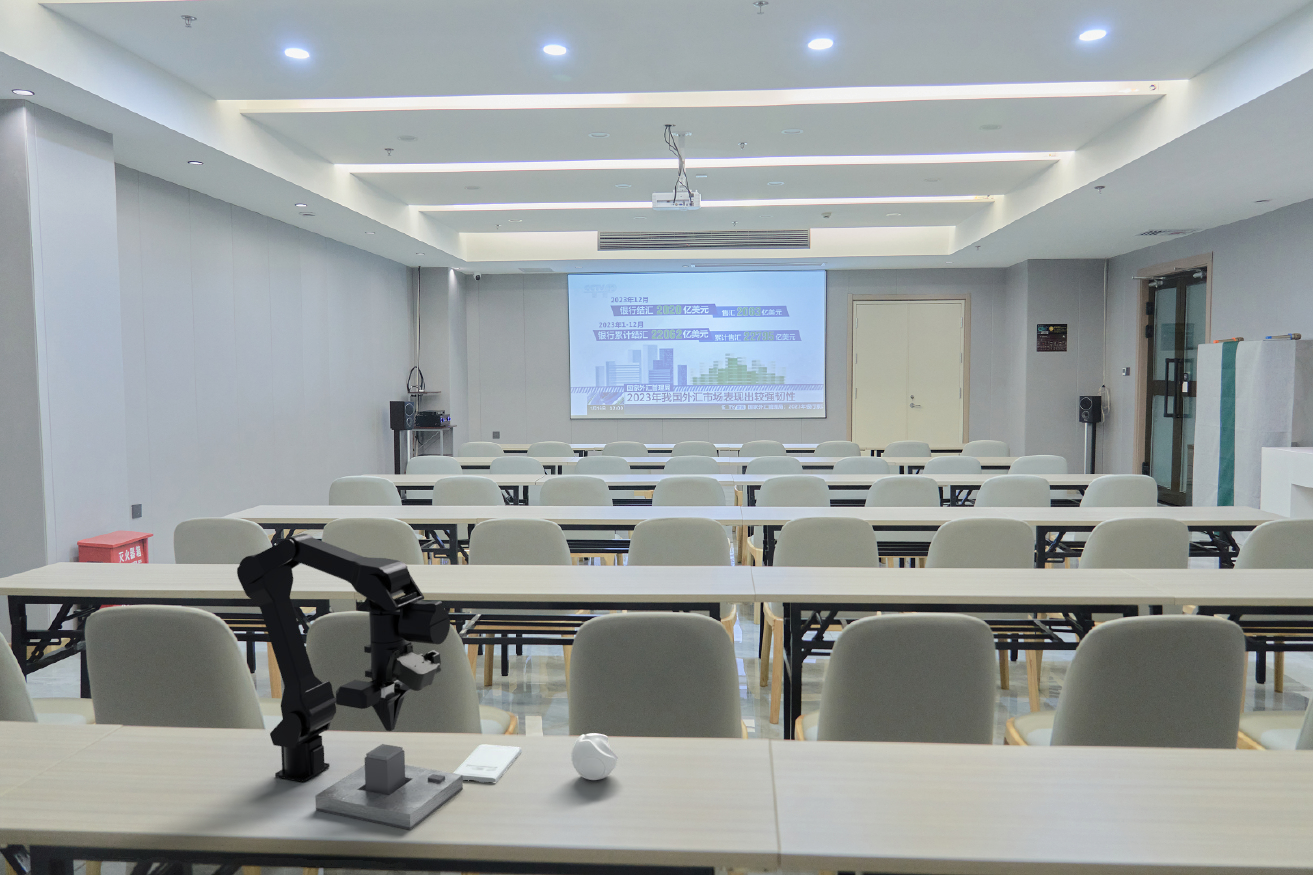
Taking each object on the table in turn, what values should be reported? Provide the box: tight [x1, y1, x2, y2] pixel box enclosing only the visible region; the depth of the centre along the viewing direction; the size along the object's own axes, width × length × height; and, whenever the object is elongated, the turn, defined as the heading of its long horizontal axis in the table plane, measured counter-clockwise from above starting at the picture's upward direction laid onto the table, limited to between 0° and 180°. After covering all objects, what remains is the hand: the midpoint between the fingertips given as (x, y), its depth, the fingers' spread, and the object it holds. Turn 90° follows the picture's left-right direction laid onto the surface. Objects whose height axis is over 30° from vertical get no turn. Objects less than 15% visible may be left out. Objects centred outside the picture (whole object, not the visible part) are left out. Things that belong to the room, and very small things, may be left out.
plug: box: [364, 743, 406, 796], centre depth 139 cm, size 4×4×8 cm
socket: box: [314, 764, 464, 831], centre depth 139 cm, size 18×14×3 cm
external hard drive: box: [453, 743, 522, 783], centre depth 151 cm, size 2×8×12 cm
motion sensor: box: [571, 732, 619, 781], centre depth 146 cm, size 8×8×8 cm
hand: (390, 730), depth 143 cm, fingers closed
